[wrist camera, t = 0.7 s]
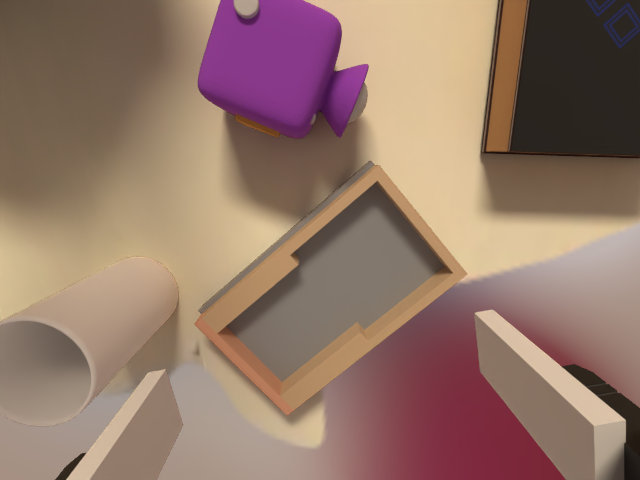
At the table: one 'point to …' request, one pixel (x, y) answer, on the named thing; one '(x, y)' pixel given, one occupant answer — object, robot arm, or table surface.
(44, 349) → the cup
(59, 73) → the table surface
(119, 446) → the robot arm
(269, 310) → the board
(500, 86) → the book
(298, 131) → the toy camera
